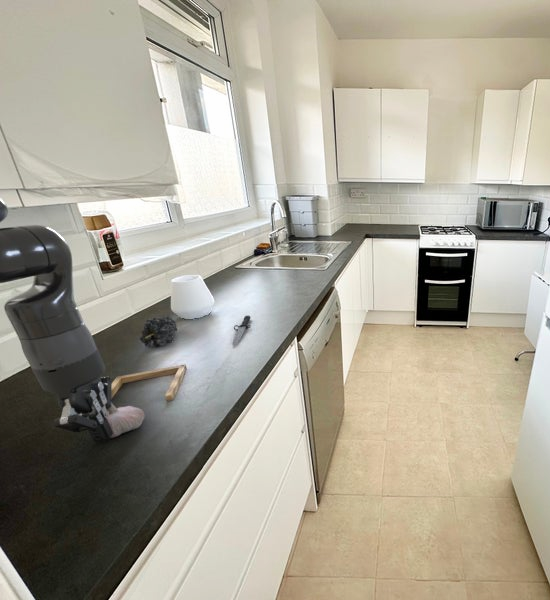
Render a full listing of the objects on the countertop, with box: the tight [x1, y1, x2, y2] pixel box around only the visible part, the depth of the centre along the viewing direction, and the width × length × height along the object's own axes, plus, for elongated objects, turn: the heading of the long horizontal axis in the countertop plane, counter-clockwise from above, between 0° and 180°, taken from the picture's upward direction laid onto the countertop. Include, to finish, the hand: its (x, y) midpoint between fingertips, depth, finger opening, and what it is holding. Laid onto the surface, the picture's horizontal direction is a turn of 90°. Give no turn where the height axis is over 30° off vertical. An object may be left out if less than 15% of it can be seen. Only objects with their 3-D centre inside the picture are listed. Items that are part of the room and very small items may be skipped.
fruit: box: [139, 315, 178, 348], centre depth 95 cm, size 9×8×15 cm
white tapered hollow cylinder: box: [170, 274, 215, 319], centre depth 111 cm, size 13×13×14 cm
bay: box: [111, 364, 188, 402], centre depth 73 cm, size 13×14×2 cm
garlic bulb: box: [107, 401, 146, 439], centre depth 60 cm, size 8×7×8 cm
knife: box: [231, 315, 252, 346], centre depth 100 cm, size 19×2×5 cm
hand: (104, 438), depth 56 cm, fingers closed
